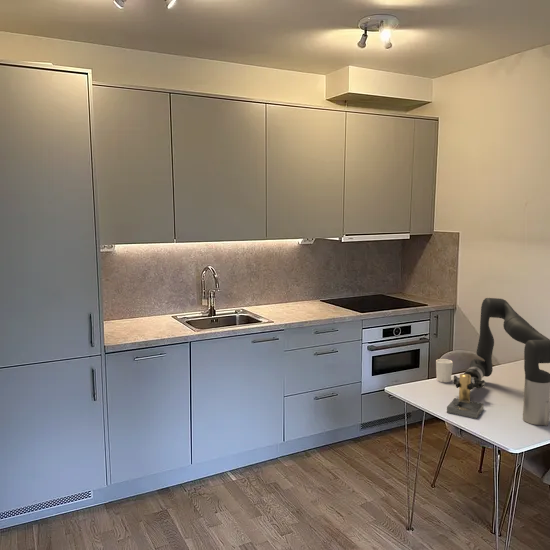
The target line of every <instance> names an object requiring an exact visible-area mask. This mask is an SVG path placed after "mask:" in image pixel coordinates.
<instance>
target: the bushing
mask: <svg viewBox="0 0 550 550" xmlns="http://www.w3.org/2000/svg"><path fill="white" fill-rule="evenodd" d="M459 378H460V382H459V388H458V399H461V400H467V401H471V390H469V385H470V384H471V375H469V374H464V373H460V374H459Z"/></svg>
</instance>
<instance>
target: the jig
mask: <svg viewBox="0 0 550 550" xmlns="http://www.w3.org/2000/svg"><path fill="white" fill-rule="evenodd" d="M484 407H485V406H484V403H481V402H476V401H472V400H470V401H467V400H461V399H459V398H453V399H452V400H451V402H450V403H449V404H448V405H447V406H446V413H448V414H452V415H456V416H461V417H465V418H471V419H476V420H477V419H478V418H479V416H480V413H481V414H482V412H483V411H484Z"/></svg>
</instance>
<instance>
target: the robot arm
mask: <svg viewBox="0 0 550 550" xmlns="http://www.w3.org/2000/svg"><path fill="white" fill-rule="evenodd" d="M490 318H493V319H494V318H496V319H503V324H502V325H503V329H504V331H505V333H507V335H509V337H511V338H512V339H513V340H515V341H517V342H519V343H521V344H525V345H524V351H523V352H524V353H523V354H524V356H523V357H524V358H523V359H524V363H523V364H524V365H523V369H524V388H523V406H522V420H523V421H524V422H526V423H528V424H530V425H535V426H547V427H548V425H549V422H550V372H548V371H546V370H543V369H540V367H539V365H540V364H550V338H548V337H547V336H545V335H544V334H542V333H540V332H539V331H538V330H537V329H536V328H535V327H534V326H533V325H531V324H530V323H529V322H528V321H527V320H525V319H524V318H523V316H521V315H519V313H517V311H515V309H514V308H513V306H511V305H510V303H509V302H508V301H507V300H505V299H503V298H497V297H496V298H495V297H485V298H484V299H483V301H482V303H481V307H480V320H479V321H480V323H479V336H478V337H479V338H478V342H477V348H476V353H475V354H476V355H477V356H478V357H479V358H481V359H483V360H481V359H478V358H474V359H471V361H470V363H469V367H468V369H466V371H464V373H463V374H469V375H471V384H470V385H469V390H470V391H471V390H474V389H475V388H476V389H477V390H479V389H481V388H483V387H485V382H486V381H485V380H484V379H483V378H484V377H490V376H491V375H492V374H493V372H494V371H493V367H494V366H493V359H492V357H493V351H494V346H495V339H494V335H493V333H492V331H491V328H490ZM459 382H460V377H458V376H457V375H453V385H455V387H456V388H457V389H459Z"/></svg>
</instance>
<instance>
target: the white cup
mask: <svg viewBox="0 0 550 550" xmlns="http://www.w3.org/2000/svg"><path fill="white" fill-rule="evenodd" d="M435 372H436V381H437V382H440V383H450V382H451V381H452V373H453V361H452V360H451V359H447V358H439V359H436V360H435Z"/></svg>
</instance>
